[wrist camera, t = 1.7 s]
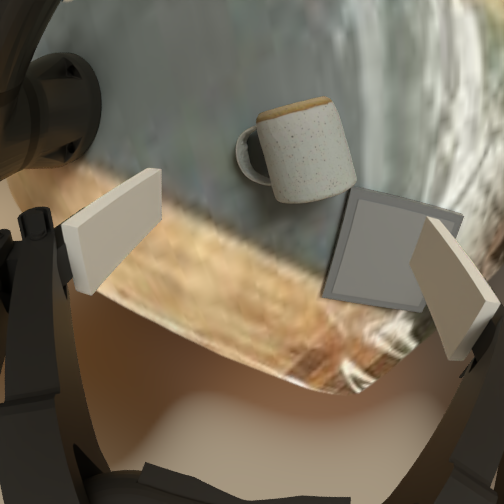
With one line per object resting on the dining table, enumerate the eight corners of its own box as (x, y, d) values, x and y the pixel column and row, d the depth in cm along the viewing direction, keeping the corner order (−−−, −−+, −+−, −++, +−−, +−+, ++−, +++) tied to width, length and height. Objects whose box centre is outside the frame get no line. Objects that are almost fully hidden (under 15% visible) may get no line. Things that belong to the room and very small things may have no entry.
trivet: (321, 293, 37) (321, 297, 36) (350, 185, 30) (351, 188, 29) (419, 308, 36) (421, 313, 35) (461, 213, 29) (464, 216, 28)
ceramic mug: (329, 92, 26) (335, 92, 19) (351, 169, 29) (363, 195, 23) (227, 122, 29) (202, 134, 23) (254, 194, 33) (238, 225, 26)
